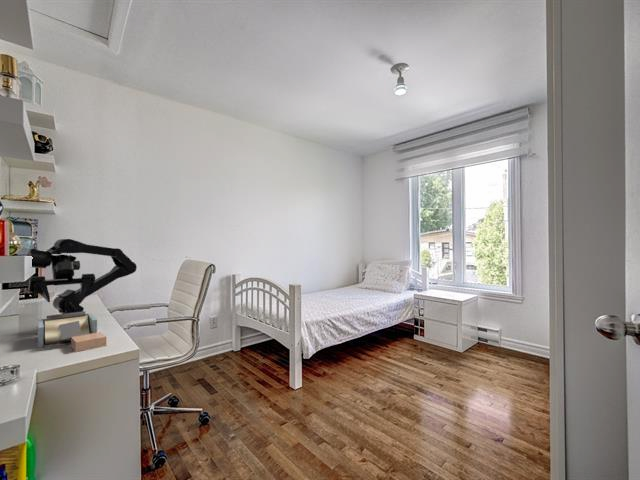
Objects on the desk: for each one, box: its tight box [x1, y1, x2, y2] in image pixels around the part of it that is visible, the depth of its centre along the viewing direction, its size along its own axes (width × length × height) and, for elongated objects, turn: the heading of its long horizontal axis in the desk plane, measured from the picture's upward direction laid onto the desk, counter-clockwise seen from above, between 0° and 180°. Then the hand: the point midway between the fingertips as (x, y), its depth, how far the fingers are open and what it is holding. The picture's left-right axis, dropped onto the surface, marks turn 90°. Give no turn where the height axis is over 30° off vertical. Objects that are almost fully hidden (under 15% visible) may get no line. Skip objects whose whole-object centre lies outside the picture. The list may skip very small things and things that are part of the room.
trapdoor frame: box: [37, 312, 98, 349], centre depth 107 cm, size 15×15×6 cm
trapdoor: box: [44, 310, 90, 345], centre depth 108 cm, size 12×12×2 cm
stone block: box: [70, 331, 107, 353], centre depth 99 cm, size 8×8×3 cm
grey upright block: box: [58, 321, 81, 343], centre depth 102 cm, size 5×5×8 cm
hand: (66, 299), depth 109 cm, fingers open, 9 cm apart
